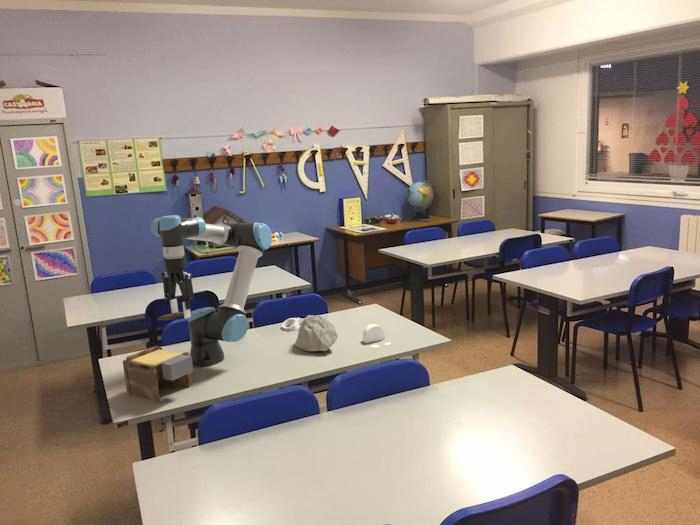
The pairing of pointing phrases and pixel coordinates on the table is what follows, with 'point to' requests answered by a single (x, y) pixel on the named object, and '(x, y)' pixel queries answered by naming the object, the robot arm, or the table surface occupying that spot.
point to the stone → (172, 316)
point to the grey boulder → (316, 334)
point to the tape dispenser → (373, 334)
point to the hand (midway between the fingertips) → (181, 316)
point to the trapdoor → (167, 363)
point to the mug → (292, 323)
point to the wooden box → (148, 377)
